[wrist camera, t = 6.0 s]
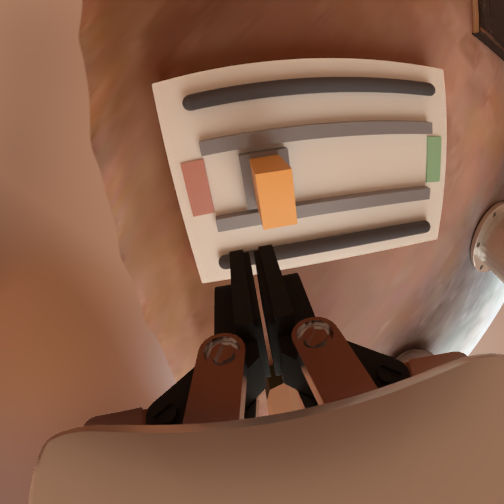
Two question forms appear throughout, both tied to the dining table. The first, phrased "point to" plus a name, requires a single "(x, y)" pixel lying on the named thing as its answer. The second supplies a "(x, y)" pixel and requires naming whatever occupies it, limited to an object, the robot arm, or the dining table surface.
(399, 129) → the slider track board
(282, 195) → the handle
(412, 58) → the dining table surface
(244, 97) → the dressed cords
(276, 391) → the wine bottle
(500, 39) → the hardcover book
